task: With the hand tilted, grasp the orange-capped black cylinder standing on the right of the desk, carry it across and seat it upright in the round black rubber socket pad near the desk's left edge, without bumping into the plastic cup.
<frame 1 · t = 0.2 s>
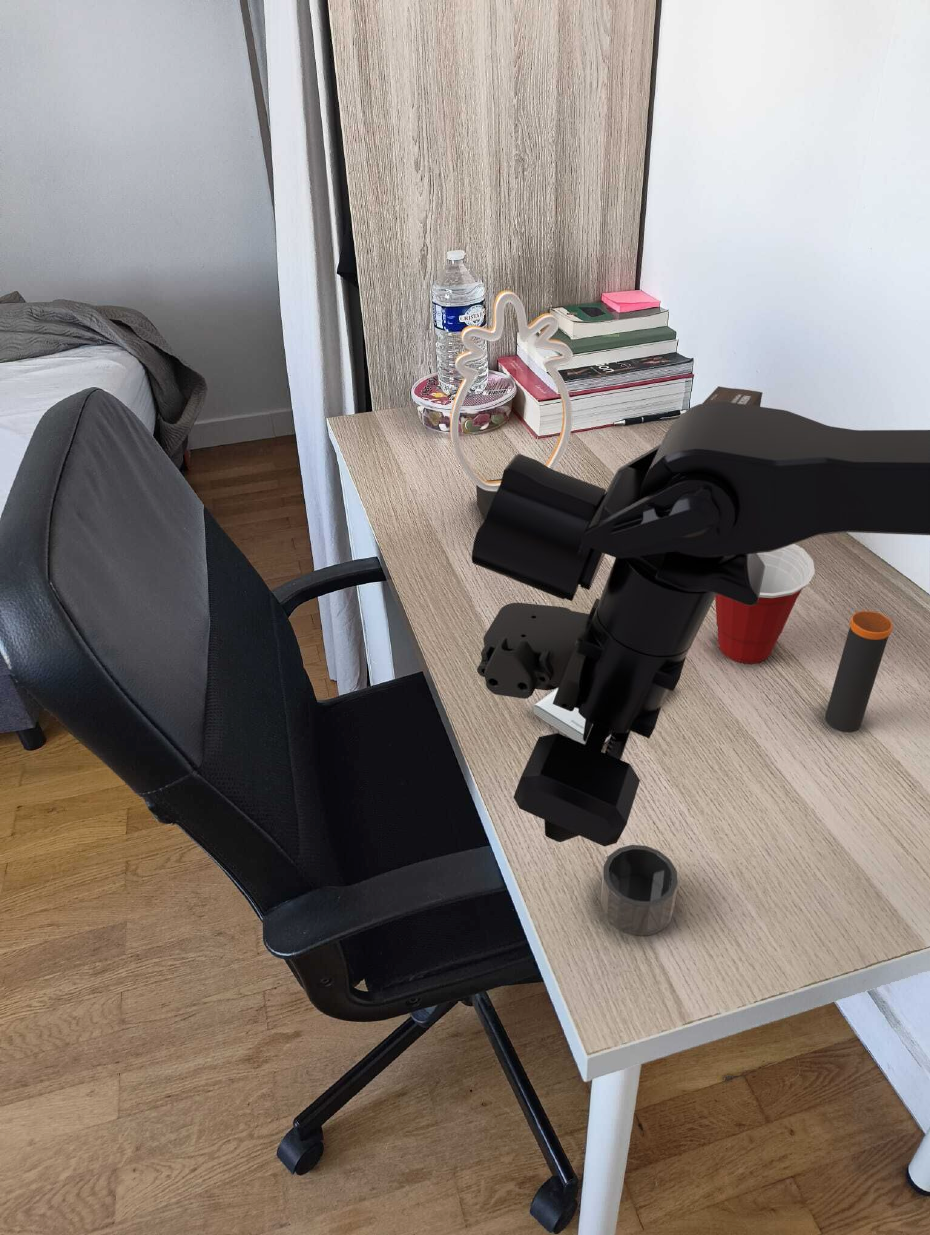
hand: (572, 787, 58), 17 cm above the table, tool pointing down, fingers open, 9 cm apart
orange-capped black cylinder: (842, 720, 85), on the table
socket: (636, 904, 69), on the table
hard drive: (601, 704, 89), on the table
lamp: (512, 515, 123), on the table
coffee box: (715, 506, 122), on the table
plastic cup: (743, 650, 95), on the table
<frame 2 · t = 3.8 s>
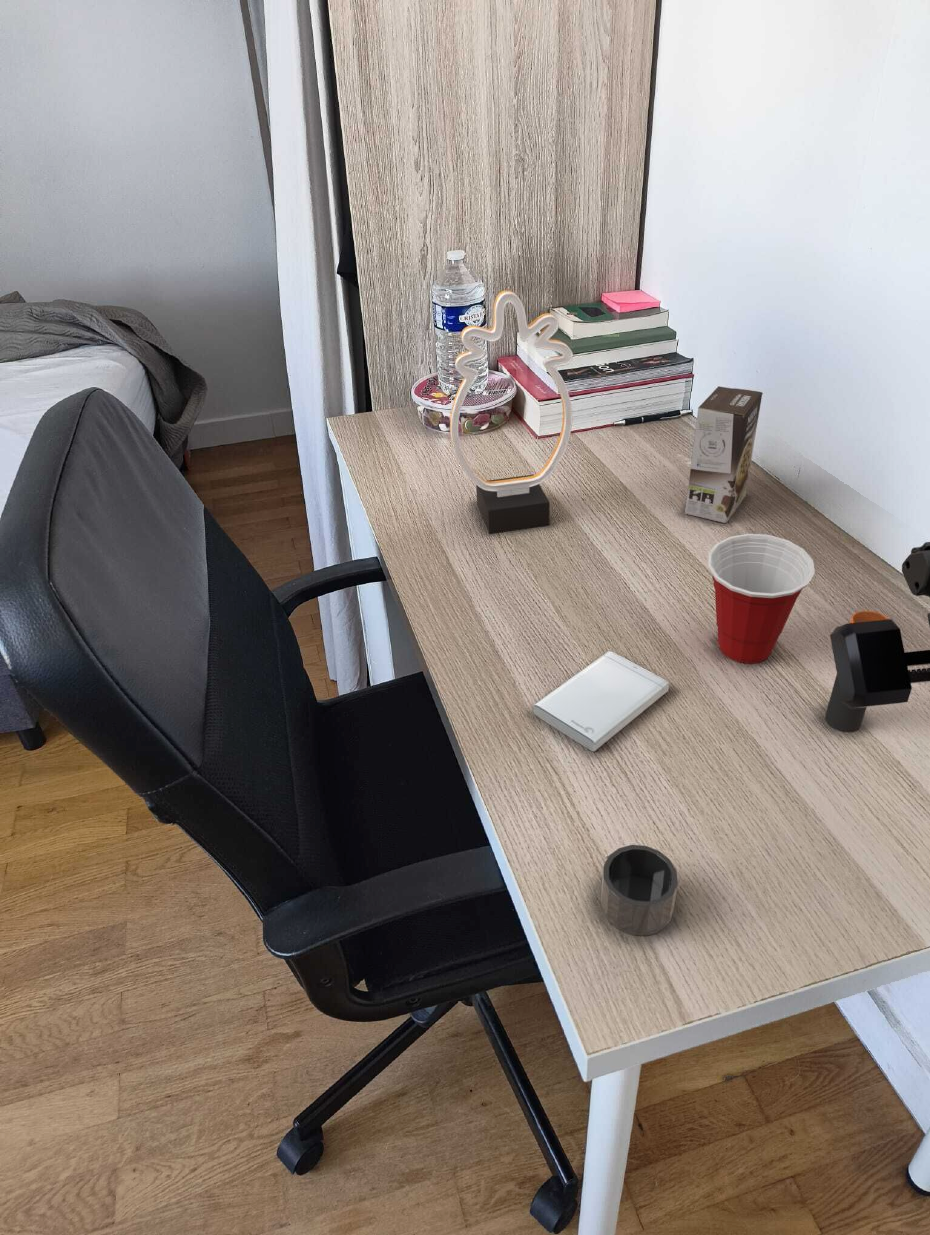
hand: (903, 667, 71), 14 cm above the table, tool tilted 45°, fingers open, 9 cm apart
nothing on the table moved.
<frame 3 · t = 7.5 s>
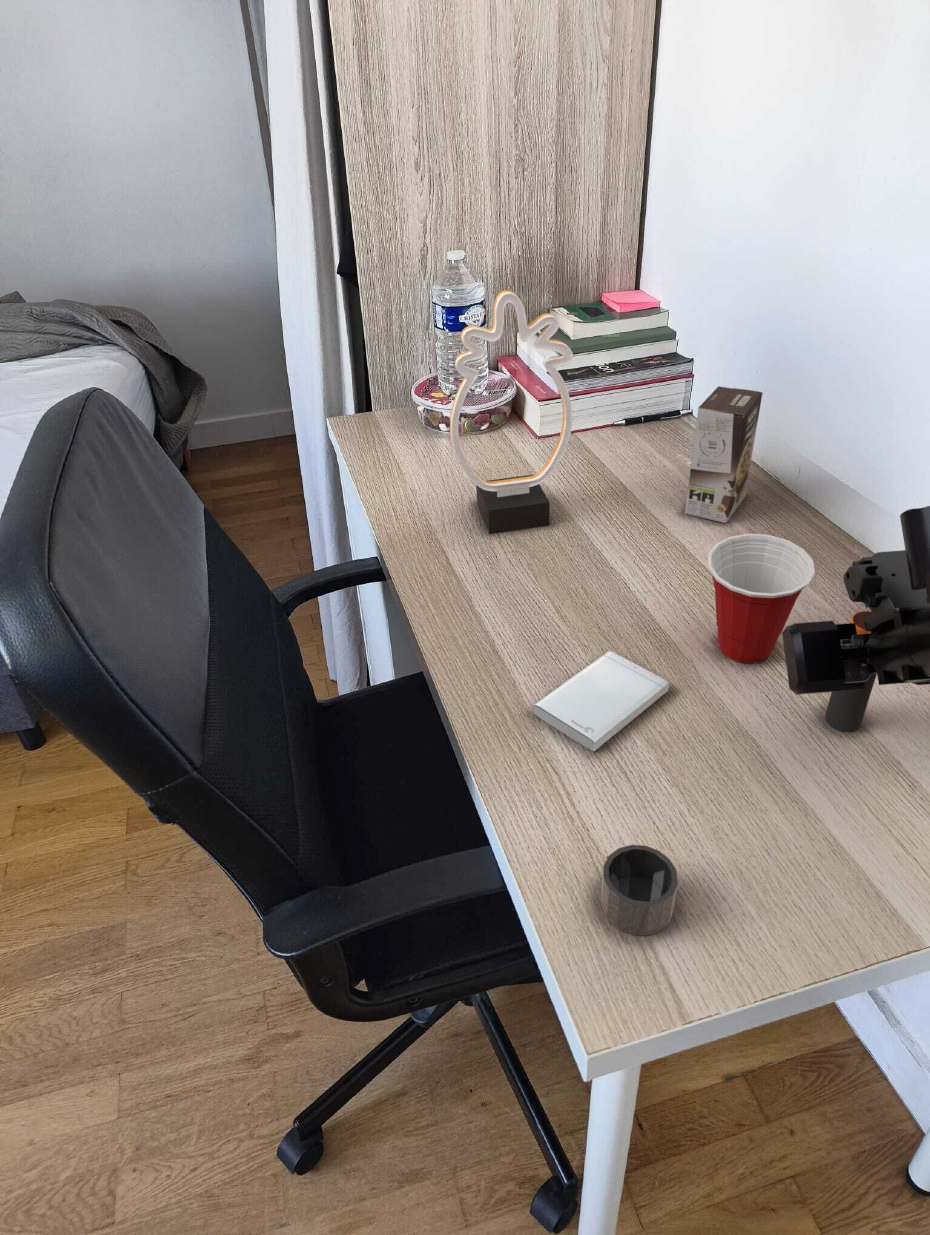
hand: (851, 661, 83), 7 cm above the table, tool tilted 45°, fingers closed on orange-capped black cylinder, 3 cm apart
orange-capped black cylinder: (842, 720, 85), on the table, touching gripper
everything else where it was.
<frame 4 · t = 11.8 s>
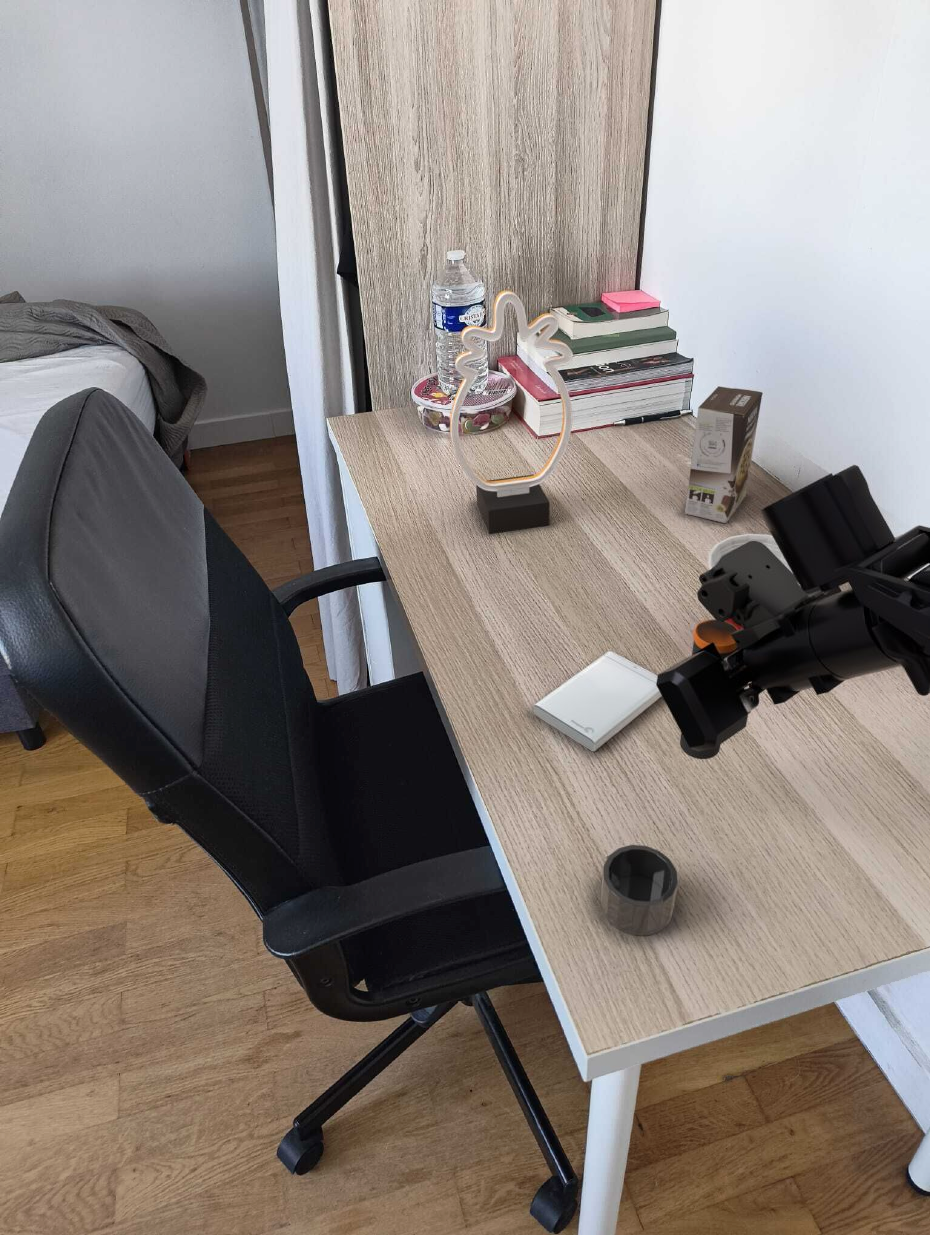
hand: (695, 680, 71), 14 cm above the table, tool tilted 45°, fingers closed on orange-capped black cylinder, 3 cm apart
orange-capped black cylinder: (699, 745, 74), point 7 cm above the table, touching gripper
everything else where it was.
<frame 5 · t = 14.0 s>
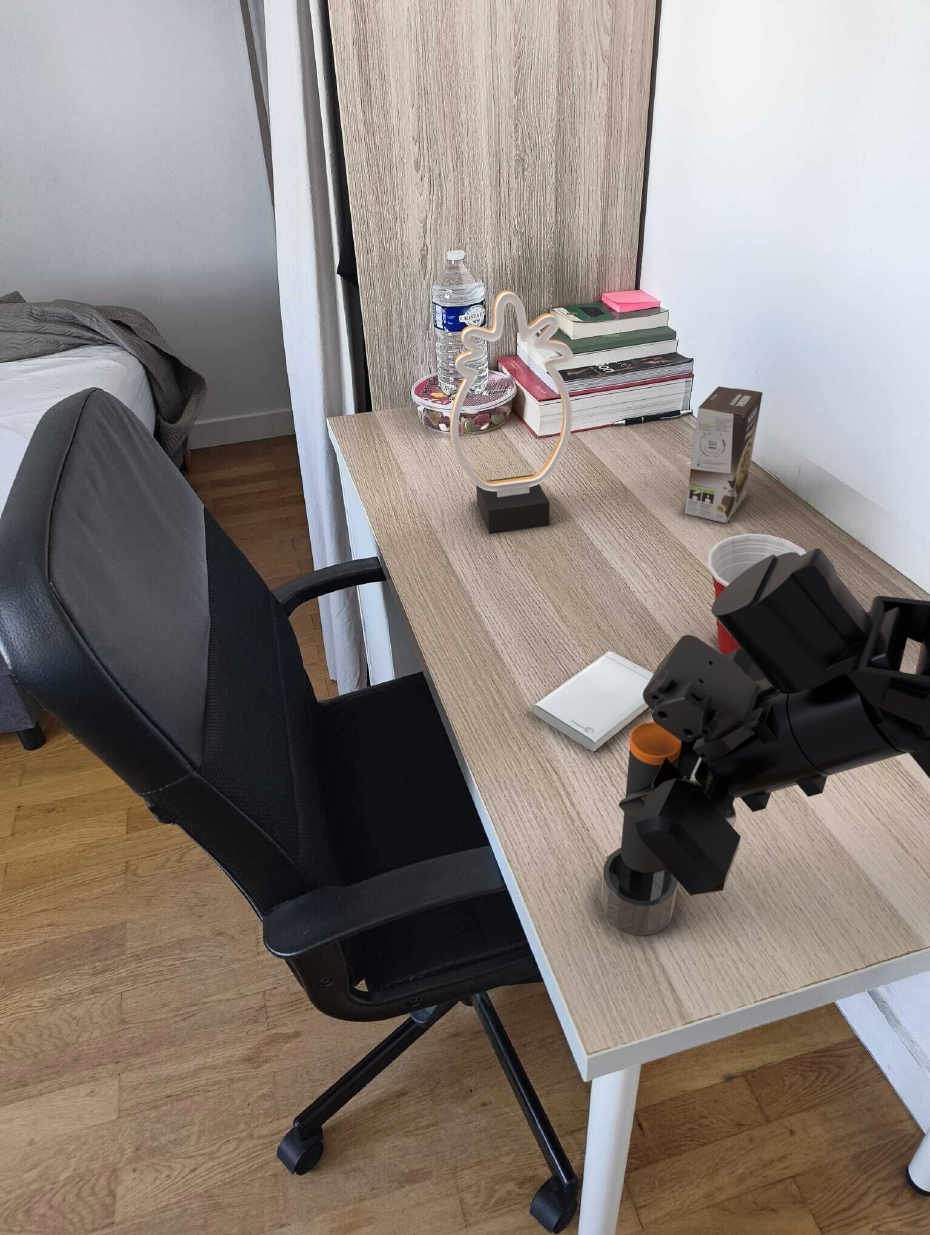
hand: (632, 790, 62), 13 cm above the table, tool tilted 45°, fingers closed on orange-capped black cylinder, 3 cm apart
orange-capped black cylinder: (642, 854, 65), point 6 cm above the table, touching gripper
everything else where it was.
when the fingers open (7 cm above the table, at t = 15.9 s): orange-capped black cylinder stays where it is, resting on socket.
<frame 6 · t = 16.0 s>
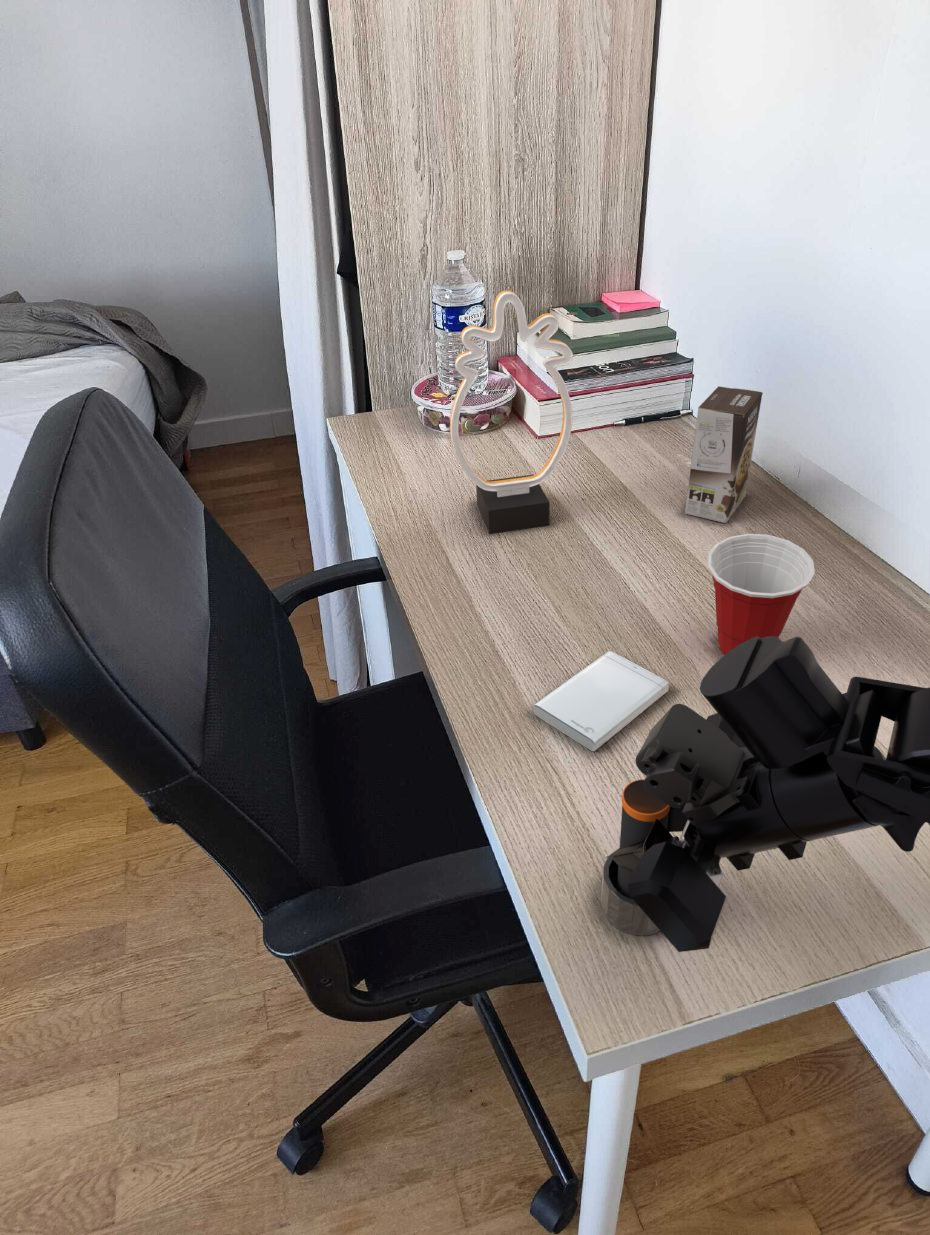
hand: (625, 842, 66), 7 cm above the table, tool tilted 45°, fingers open, 3 cm apart
orange-capped black cylinder: (637, 900, 69), point 1 cm above the table, touching socket
everything else where it was.
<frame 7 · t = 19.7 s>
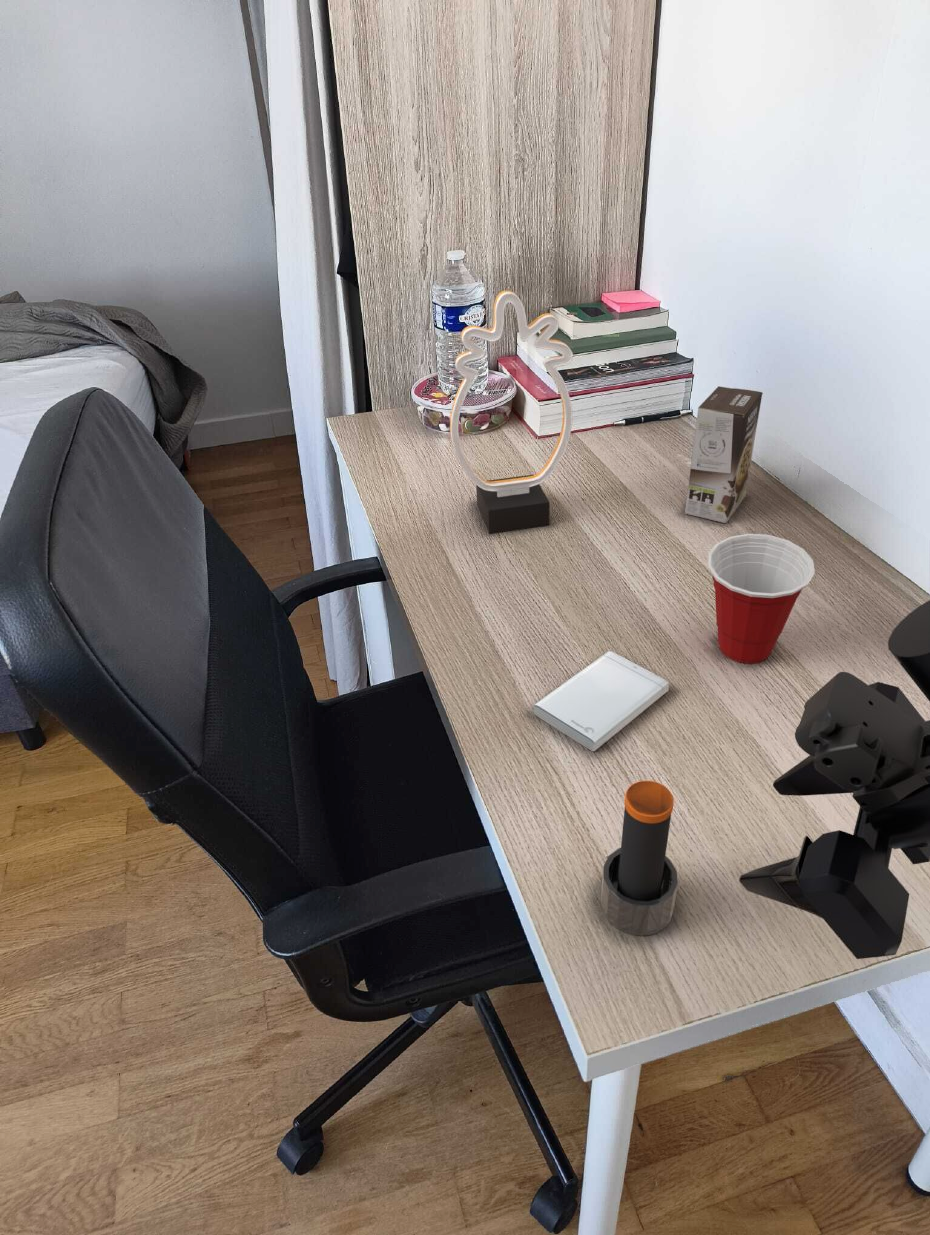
hand: (760, 833, 58), 13 cm above the table, tool tilted 45°, fingers open, 9 cm apart
nothing on the table moved.
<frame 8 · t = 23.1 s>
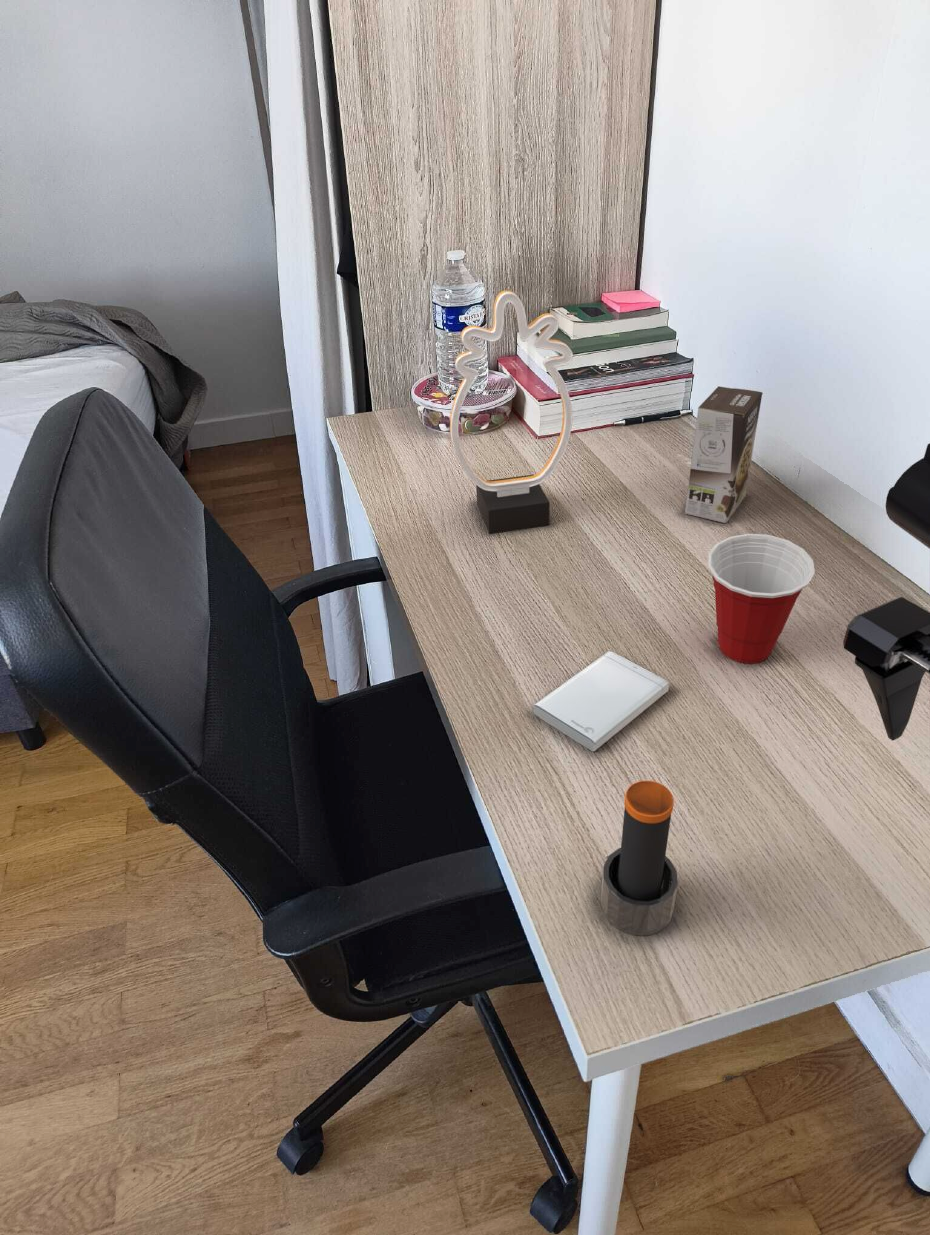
nothing on the table moved.
at the end: orange-capped black cylinder 0.0 cm off-centre in the socket, point 0.5 cm above the socket's base; orange-capped black cylinder tilted 0°; orange-capped black cylinder touching socket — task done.
